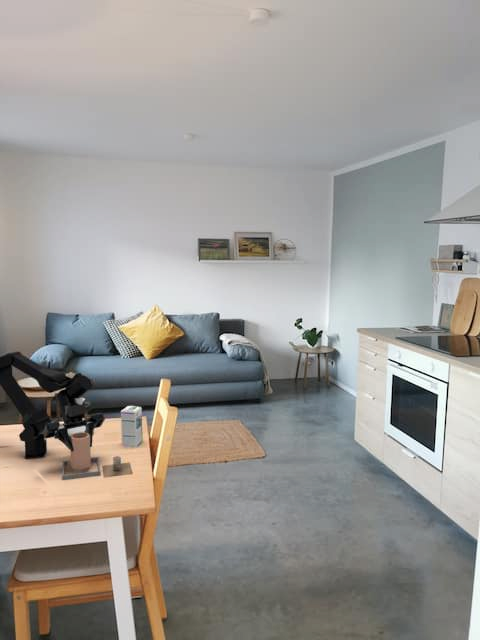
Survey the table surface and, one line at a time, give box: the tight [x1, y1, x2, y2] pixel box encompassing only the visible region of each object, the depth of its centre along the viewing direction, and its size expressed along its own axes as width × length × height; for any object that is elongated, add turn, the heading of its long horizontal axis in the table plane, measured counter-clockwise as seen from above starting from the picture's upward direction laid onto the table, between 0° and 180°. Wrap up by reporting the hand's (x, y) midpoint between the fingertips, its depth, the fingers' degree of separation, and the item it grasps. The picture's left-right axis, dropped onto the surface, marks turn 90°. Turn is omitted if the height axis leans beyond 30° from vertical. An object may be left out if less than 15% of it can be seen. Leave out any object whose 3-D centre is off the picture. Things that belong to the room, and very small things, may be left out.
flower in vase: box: [62, 371, 95, 437], centre depth 194 cm, size 13×11×25 cm
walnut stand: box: [101, 455, 134, 478], centre depth 163 cm, size 9×9×5 cm
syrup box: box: [120, 405, 144, 448], centre depth 184 cm, size 6×6×14 cm
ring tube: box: [67, 432, 92, 470], centre depth 162 cm, size 7×6×10 cm
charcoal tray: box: [61, 456, 102, 481], centre depth 162 cm, size 11×11×2 cm
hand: (82, 448), depth 160 cm, fingers closed on ring tube, 6 cm apart
